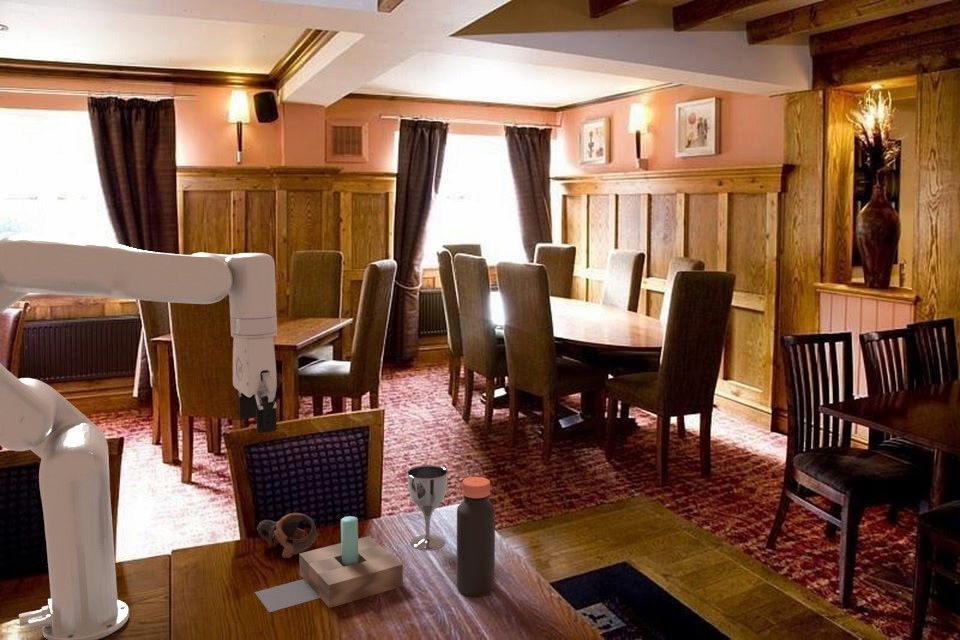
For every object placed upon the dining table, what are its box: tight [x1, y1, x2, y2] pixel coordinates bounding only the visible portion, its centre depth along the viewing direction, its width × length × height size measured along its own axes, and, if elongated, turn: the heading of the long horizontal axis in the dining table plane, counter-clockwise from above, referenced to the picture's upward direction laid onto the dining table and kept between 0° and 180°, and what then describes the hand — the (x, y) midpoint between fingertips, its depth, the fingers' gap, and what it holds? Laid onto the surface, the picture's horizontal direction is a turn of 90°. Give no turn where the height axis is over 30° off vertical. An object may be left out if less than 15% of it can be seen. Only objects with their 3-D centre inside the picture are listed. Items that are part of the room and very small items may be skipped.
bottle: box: [456, 476, 496, 597], centre depth 139 cm, size 7×7×20 cm
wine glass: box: [407, 464, 448, 551], centre depth 157 cm, size 8×8×15 cm
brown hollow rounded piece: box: [256, 512, 319, 559], centre depth 155 cm, size 12×10×8 cm
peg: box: [340, 515, 359, 567], centre depth 141 cm, size 3×3×12 cm
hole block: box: [298, 535, 404, 609], centre depth 142 cm, size 14×14×4 cm
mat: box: [254, 578, 321, 613], centre depth 137 cm, size 10×8×1 cm
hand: (257, 424), depth 135 cm, fingers open, 9 cm apart
